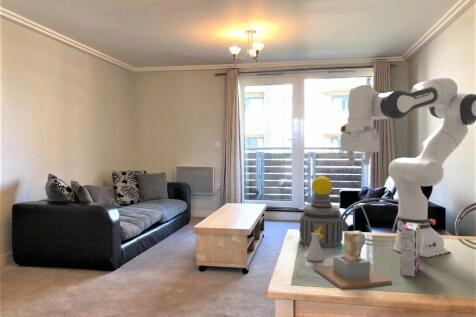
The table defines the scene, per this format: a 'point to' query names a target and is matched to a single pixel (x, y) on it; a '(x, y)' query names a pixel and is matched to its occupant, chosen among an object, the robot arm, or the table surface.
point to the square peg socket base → (351, 273)
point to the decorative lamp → (321, 217)
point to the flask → (315, 249)
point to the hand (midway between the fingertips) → (358, 163)
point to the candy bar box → (410, 249)
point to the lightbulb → (361, 241)
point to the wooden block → (351, 246)
